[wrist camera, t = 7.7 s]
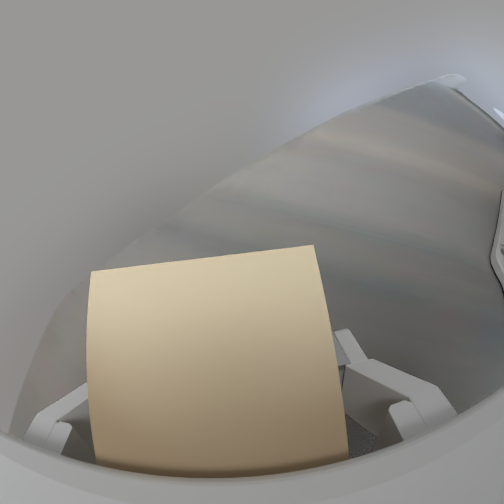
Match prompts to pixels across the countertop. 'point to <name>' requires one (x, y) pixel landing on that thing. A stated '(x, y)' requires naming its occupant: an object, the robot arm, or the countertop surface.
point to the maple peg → (214, 367)
